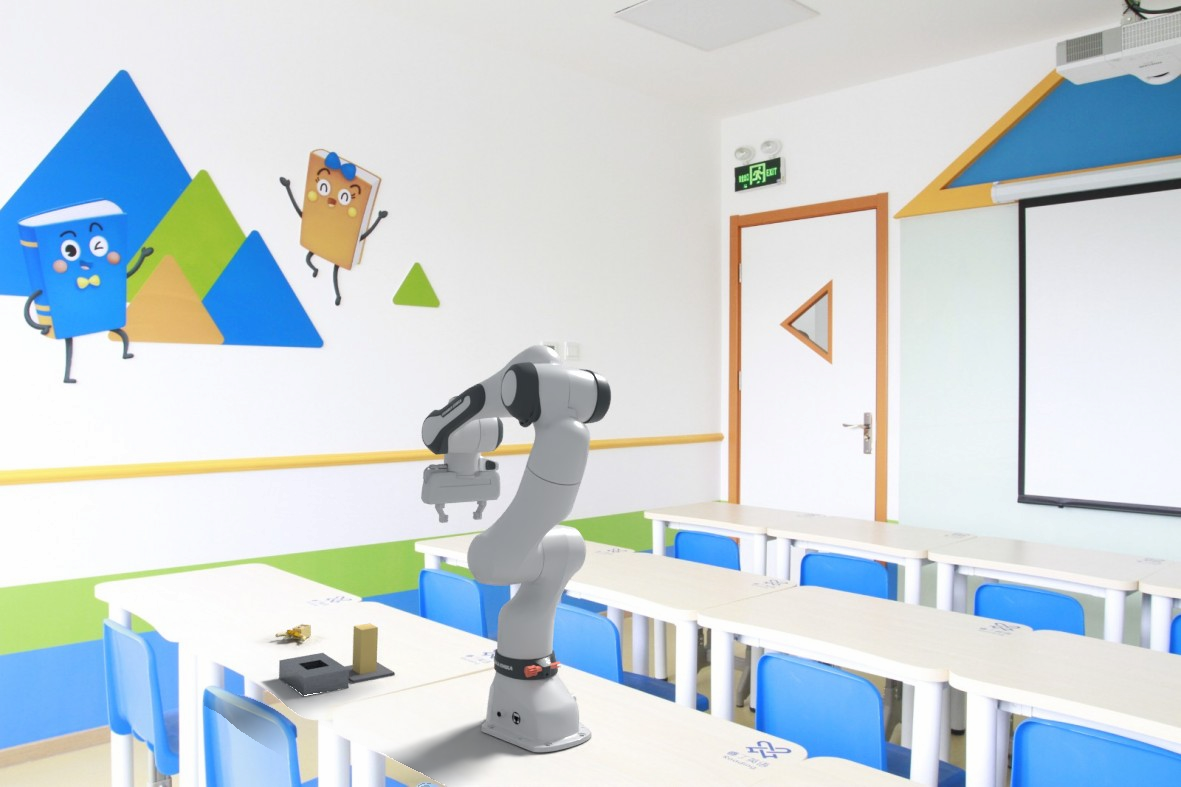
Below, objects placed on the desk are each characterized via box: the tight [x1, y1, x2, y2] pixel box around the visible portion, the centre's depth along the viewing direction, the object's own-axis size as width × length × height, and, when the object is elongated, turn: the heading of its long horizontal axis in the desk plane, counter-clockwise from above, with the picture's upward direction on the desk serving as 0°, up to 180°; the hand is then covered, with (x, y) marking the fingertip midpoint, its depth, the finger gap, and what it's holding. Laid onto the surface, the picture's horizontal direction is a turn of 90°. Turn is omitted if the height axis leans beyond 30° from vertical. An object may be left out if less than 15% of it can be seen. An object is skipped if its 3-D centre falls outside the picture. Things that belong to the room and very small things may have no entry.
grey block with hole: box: [278, 652, 350, 697], centre depth 197 cm, size 14×10×4 cm
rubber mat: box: [343, 661, 395, 684], centre depth 205 cm, size 10×10×1 cm
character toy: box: [275, 623, 312, 643], centre depth 228 cm, size 8×3×8 cm
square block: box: [352, 622, 379, 674], centre depth 205 cm, size 4×4×10 cm
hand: (460, 520), depth 216 cm, fingers open, 8 cm apart
